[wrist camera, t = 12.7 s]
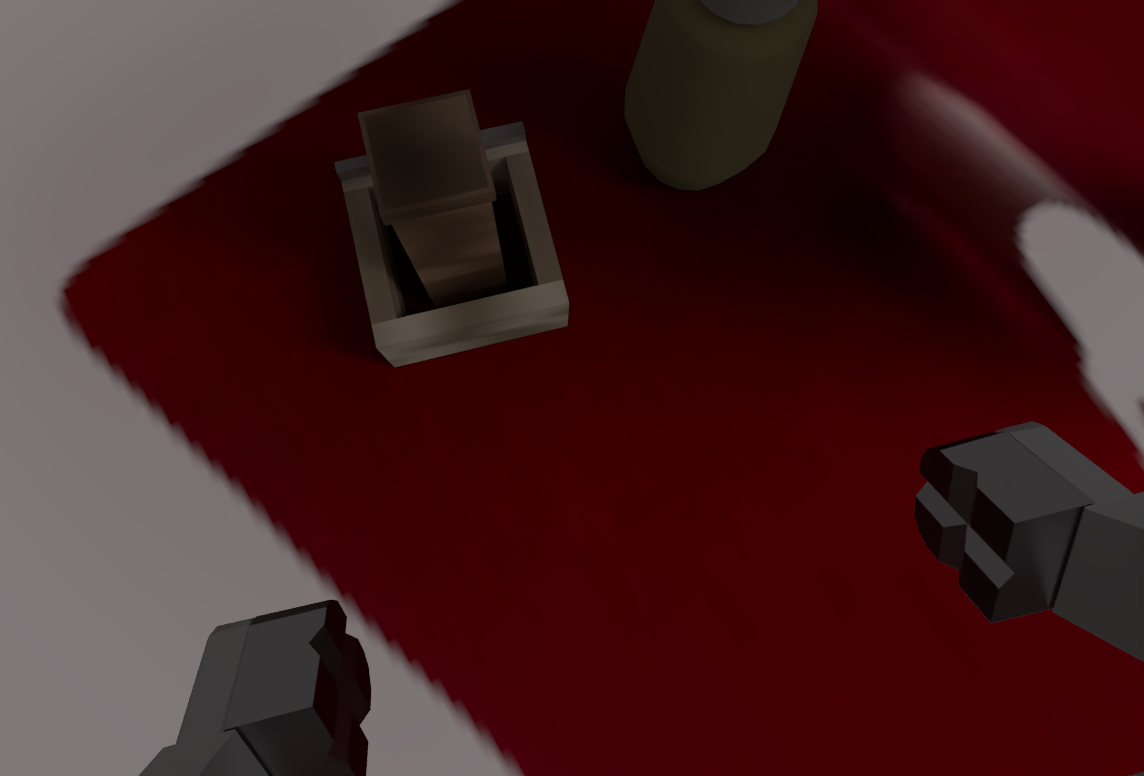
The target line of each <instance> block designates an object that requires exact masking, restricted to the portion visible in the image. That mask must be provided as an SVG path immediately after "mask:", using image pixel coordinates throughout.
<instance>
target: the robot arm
mask: <svg viewBox="0 0 1144 776" xmlns="http://www.w3.org/2000/svg"><path fill="white" fill-rule="evenodd" d="M919 472H920V473H921V474H922V476H923V477H924V478H925V479H926V480H927V481H928V482H927V483H926V484H925V485H924V487H923V488H922V489H921V490H920V492H919V493H918V494H917V495H916V500H915V513H914V515H915V519H916V522H917V526H918V530H919V533H920V535H921V537H922V539H923V541H924V542H925V544H926V546H927V548H928V549H929V550H930V551H931V553H932V554H933V555H934V556H935V558H936V559H937V560H938V561H940V562H942V563H944V564H947V565H949V566H951V567H953V568H956V569H958V570H959V586H960V587H961V589H962V590H963V591H964V592H965V593H966V595H967V596H968V597H969V598H970V599H971V600H972V602H973V603H974V604H975V605H976V606H977V607H978V609H979V610H980V611H981V612H982V613H983V615H984V616H985V617H986V618H987V619H988V620H989V622H990V623H994V622H998V621H1002V620H1006V619H1011V618H1015V617H1019V616H1023V615H1027V614H1031V613H1036V612H1040V611H1044V610H1048V609H1052V608H1053V611H1052V612H1054V613H1056V614H1057V615H1059V616H1061V617H1063V618H1065V619H1066V620H1068V621H1070V622H1072V623H1074V624H1076V625H1077V626H1079V627H1081V628H1083V629H1085V630H1087V631H1088V632H1090V633H1092V634H1094V635H1096V636H1098V637H1099V638H1101V639H1103V640H1105V641H1107V642H1109V643H1110V644H1112V645H1114V646H1116V647H1118V648H1120V649H1121V650H1123V651H1125V652H1127V653H1129V654H1130V655H1132V656H1134V657H1136V658H1138V659H1140V660H1141V661H1143V662H1144V492H1141V493H1137V494H1133V493H1132V492H1130V491H1129V490H1128V489H1126V488H1125V487H1124V486H1122V485H1121V484H1120V483H1119V482H1117V481H1116V480H1115V479H1113V478H1112V477H1111V476H1109V475H1108V474H1107V473H1106V472H1104V471H1103V470H1102V469H1100V468H1099V467H1098V466H1096V465H1095V464H1094V463H1093V462H1091V461H1090V460H1089V459H1087V458H1086V457H1085V456H1083V455H1082V454H1081V453H1080V452H1078V451H1077V450H1076V449H1074V448H1073V447H1072V446H1070V445H1069V444H1068V443H1067V442H1065V441H1064V440H1063V439H1061V438H1060V437H1059V436H1057V435H1056V434H1055V433H1054V432H1052V431H1051V430H1050V429H1048V428H1047V427H1046V426H1044V425H1042V424H1039V423H1036V422H1032V421H1031V422H1028V423H1024V424H1020V425H1016V426H1012V427H1009V428H1005V429H1001V430H997V431H996V432H990V433H986V434H982V435H979V436H975V437H971V438H967V439H963V440H959V441H956V442H952V443H948V444H944V445H940V446H937V447H933V448H929V449H927V450H926V451H925V453H924V454H923V456H922V457H921V462H920V469H919ZM346 621H347V616H346V615H345V613H344V611H343V609H342V608H341V606H340V604H339V602H338V601H336V600H327V601H323V602H319V603H314V604H310V605H305V606H301V607H296V608H292V609H288V610H283V611H279V612H274V613H270V614H266V615H261V616H257V617H256V618H252V619H248V620H243V621H239V622H234V623H229V624H225V625H220V626H217V627H216V628H215V630H214V631H213V632H212V633H211V634H210V636H209V638H208V640H207V644H206V647H205V650H204V653H203V657H202V660H201V663H200V667H199V670H198V673H197V676H196V680H195V683H194V686H193V689H192V693H191V696H190V699H189V702H188V706H187V709H186V712H185V716H184V719H183V722H182V726H181V729H180V732H179V735H178V739H177V742H176V744H175V745H172V746H168V747H165V748H163V749H162V750H161V751H160V752H159V753H158V754H157V756H156V757H155V758H154V759H153V760H152V761H151V762H150V763H149V765H148V766H147V767H146V768H145V769H144V770H143V771H142V773H141V774H140V775H139V776H366V768H367V754H368V752H367V751H368V740H367V738H366V737H365V735H364V733H363V731H362V729H361V727H360V724H361V723H362V721H363V720H364V718H365V716H366V715H367V714H368V712H369V711H370V705H371V683H370V676H369V667H368V663H367V660H366V657H365V653H364V650H363V649H362V646H361V644H360V642H359V640H358V639H357V638H355V637H353V636H351V635H348V634H346V633H345V630H346ZM1130 776H1144V772H1140V773H1137V774H1133V775H1130Z"/></svg>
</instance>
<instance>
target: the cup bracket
mask: <svg viewBox="0 0 1144 776" xmlns="http://www.w3.org/2000/svg"><path fill="white" fill-rule="evenodd" d="M480 133H481V137H482V141H483V145H484V149H485V153H486V157H487V161H488V164H489V168H490V172H491V176H492V180H493V184H494V188H495V193H496V196H499V195H504V194H508V193H510V194H511V198H512V202H513V206H514V209H515V213H516V217H517V221H518V225H519V229H520V233H521V237H522V241H523V244H524V248H525V252H526V256H527V260H528V264H529V268H530V272H531V275H532V279H533V283H534V287H529V288H525V289H521V290H516V291H512V292H508V293H504V294H499V295H495V296H491V297H487V298H482V299H478V300H474V301H470V302H465V303H461V304H457V305H453V306H448V307H444V308H440V309H436V310H431V311H427V312H423V313H419V314H414V315H410V316H407V313H406V309H405V304H404V300H403V295H402V291H401V286H400V282H399V277H398V273H397V268H396V264H395V259H394V254H393V250H392V245H391V241H390V236H389V232H388V227H387V225H385V224H384V223H383V221H382V219H381V217H380V213H379V209H378V204H377V199H376V195H375V190H374V186H373V181H372V177H371V172H370V167H369V163H368V158H367V155H365V156H361V157H356V158H351V159H347V160H342V161H338V162H334V163H335V168H336V173H337V175H338V176H339V178H340V180H341V182H342V187H343V191H344V196H345V201H346V206H347V210H348V215H349V220H350V225H351V229H352V234H353V239H354V244H355V248H356V253H357V258H358V263H359V267H360V272H361V277H362V282H363V286H364V291H365V296H366V301H367V305H368V310H369V315H370V320H371V325H372V329H373V334H374V339H375V344H376V348H377V349H378V350H379V351H380V352H381V353H382V355H383V356H384V357H385V358H386V359H387V360H388V361H389V362H390V363H391V364H392V365H393V366H394V367H398V366H402V365H406V364H410V363H415V362H419V361H423V360H427V359H431V358H435V357H440V356H444V355H448V354H452V353H456V352H461V351H465V350H469V349H473V348H477V347H481V346H486V345H490V344H494V343H498V342H502V341H506V340H511V339H515V338H519V337H523V336H527V335H531V334H536V333H540V332H544V331H548V330H552V329H557V328H561V327H565V326H568V310H569V301H568V297H567V293H566V289H565V286H564V282H563V278H562V274H561V271H560V267H559V263H558V259H557V256H556V252H555V248H554V244H553V240H552V237H551V233H550V229H549V225H548V222H547V218H546V214H545V210H544V207H543V203H542V199H541V195H540V192H539V188H538V184H537V180H536V176H535V173H534V169H533V165H532V161H531V158H530V154H529V150H528V146H527V143H526V134H525V129H524V125H523V121H521V122H517V123H512V124H508V125H503V126H498V127H494V128H489V129H485V130H480Z"/></svg>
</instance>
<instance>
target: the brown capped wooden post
mask: <svg viewBox="0 0 1144 776" xmlns="http://www.w3.org/2000/svg"><path fill="white" fill-rule="evenodd" d="M358 117H359V122H360V126H361V131H362V135H363V140H364V145H365V149H366V154H367V158H368V163H369V167H370V172H371V177H372V181H373V186H374V190H375V195H376V199H377V204H378V209H379V213H380V217H381V219H382V221H383V223H384V224H385V225H390V224H392V226H393V228H394V230H395V232H396V233H397V235H398V237H399V239H400V241H401V243H402V245H403V247H404V249H405V250H406V252H407V254H408V256H409V258H410V260H411V262H412V264H413V266H414V268H415V269H416V271H417V273H418V275H419V277H420V279H421V281H422V283H423V285H424V287H425V288H426V290H427V292H428V294H429V296H430V298H431V300H432V302H433V304H434V305H435V307H436V308H439V307H443V306H448V305H452V304H456V303H460V302H465V301H469V300H473V299H477V298H482V297H486V296H490V295H495V294H499V293H503V292H507V291H508V286H507V280H506V275H505V270H504V265H503V259H502V254H501V249H500V244H499V238H498V233H497V228H496V223H495V217H494V212H493V207H492V201H497V199H496V193H495V188H494V184H493V180H492V176H491V172H490V168H489V164H488V161H487V157H486V153H485V149H484V145H483V141H482V137H481V133H480V129H479V125H478V121H477V117H476V113H475V109H474V105H473V101H472V97H471V93H470V89H468V90H463V91H458V92H453V93H449V94H444V95H439V96H435V97H430V98H425V99H421V100H416V101H411V102H407V103H402V104H397V105H392V106H388V107H383V108H378V109H374V110H369V111H364V112H360V113H358Z"/></svg>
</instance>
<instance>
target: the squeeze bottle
mask: <svg viewBox="0 0 1144 776" xmlns="http://www.w3.org/2000/svg"><path fill="white" fill-rule="evenodd" d="M817 13H818V5H817V0H655V2H654V5H653V8H652V11H651V14H650V17H649V20H648V23H647V26H646V29H645V32H644V35H643V38H642V41H641V44H640V47H639V50H638V53H637V56H636V59H635V62H634V65H633V68H632V71H631V74H630V77H629V80H628V83H627V86H626V89H625V112H624V117H625V120H626V122H627V125H628V127H629V130H630V132H631V135H632V137H633V140H634V142H635V145H636V147H637V149H638V152H639V154H640V156H641V159H642V161H643V163H644V166H645V167H646V168H647V169H648V170H649V171H650V172H651V173H652V174H653V175H654V176H655V177H656V178H657V179H658V180H659V181H660V182H663V183H665V184H667V185H669V186H671V187H674V188H676V189H681V190H697V191H698V190H701V189H705V188H708V187H711V186H714V185H717V184H719V183H721V182H723V181H724V180H726V179H728V178H730V177H732V176H734V175H735V174H737V173H739V172H741V171H743V170H744V169H745V168H747V167H748V166H749V165H750V164H751V163H752V162H754V161H755V160H756V159H757V158H758V157H759V156H761V155H762V154H763V153H764V152H765V151H766V149H767V147H768V145H769V143H770V141H771V138H772V136H773V134H774V132H775V130H776V128H777V125H778V123H779V120H780V117H781V114H782V111H783V109H784V106H785V103H786V100H787V97H788V94H789V92H790V89H791V86H792V83H793V80H794V78H795V75H796V72H797V69H798V66H799V64H800V61H801V58H802V55H803V52H804V50H805V47H806V44H807V41H808V38H809V36H810V33H811V30H812V27H813V24H814V22H815V19H816V16H817Z"/></svg>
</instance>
